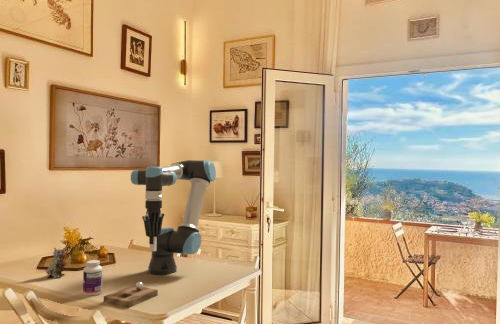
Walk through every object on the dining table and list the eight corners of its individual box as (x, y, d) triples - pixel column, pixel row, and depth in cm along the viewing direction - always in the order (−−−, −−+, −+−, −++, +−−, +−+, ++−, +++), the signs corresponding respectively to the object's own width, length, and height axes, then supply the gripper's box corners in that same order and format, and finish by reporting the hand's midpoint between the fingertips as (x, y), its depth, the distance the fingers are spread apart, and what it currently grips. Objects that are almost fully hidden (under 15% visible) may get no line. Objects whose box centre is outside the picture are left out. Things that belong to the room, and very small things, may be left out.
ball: (133, 290, 184) (133, 282, 184) (139, 288, 187) (139, 280, 187) (139, 291, 182) (139, 283, 182) (145, 289, 185) (145, 281, 185)
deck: (103, 302, 175) (103, 296, 175) (133, 290, 191) (133, 285, 191) (128, 308, 169) (128, 301, 169) (157, 295, 185) (157, 289, 185)
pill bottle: (86, 290, 190) (86, 259, 190) (104, 290, 191) (104, 259, 191) (80, 296, 182) (80, 263, 182) (99, 296, 183) (99, 263, 183)
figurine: (57, 273, 218) (57, 244, 218) (69, 275, 214) (69, 246, 214) (42, 277, 210) (43, 247, 210) (55, 279, 206) (55, 249, 206)
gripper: (150, 201, 185) (150, 254, 185) (169, 199, 196) (168, 249, 196) (137, 200, 188) (137, 252, 188) (156, 198, 200) (156, 247, 200)
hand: (153, 250), depth 192 cm, fingers closed
